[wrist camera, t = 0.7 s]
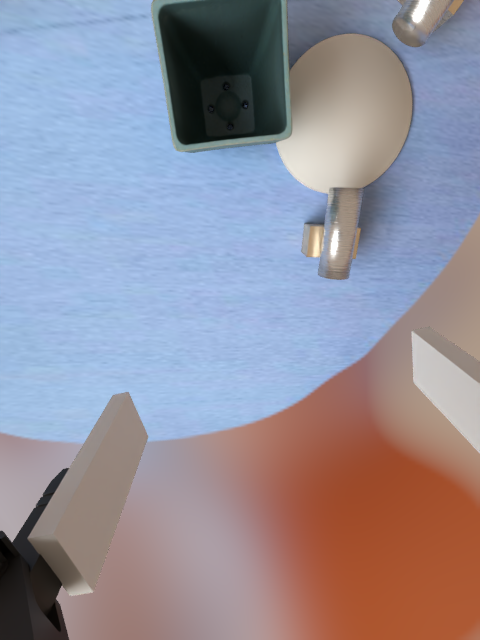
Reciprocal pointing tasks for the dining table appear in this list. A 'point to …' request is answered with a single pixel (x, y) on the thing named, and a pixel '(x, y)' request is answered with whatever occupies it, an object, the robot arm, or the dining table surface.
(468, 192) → the dining table surface
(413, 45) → the shaft
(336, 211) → the shaft
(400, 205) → the dining table surface
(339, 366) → the dining table surface
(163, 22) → the flower pot
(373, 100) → the seat pad
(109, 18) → the dining table surface
